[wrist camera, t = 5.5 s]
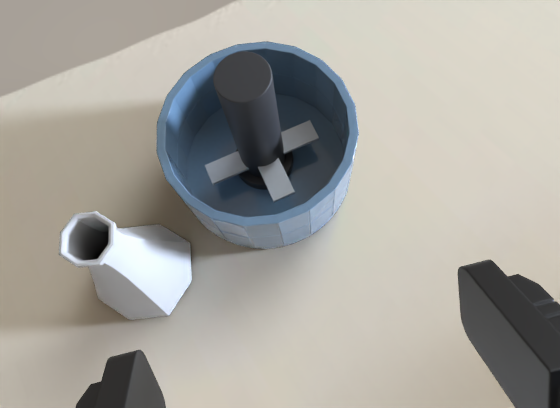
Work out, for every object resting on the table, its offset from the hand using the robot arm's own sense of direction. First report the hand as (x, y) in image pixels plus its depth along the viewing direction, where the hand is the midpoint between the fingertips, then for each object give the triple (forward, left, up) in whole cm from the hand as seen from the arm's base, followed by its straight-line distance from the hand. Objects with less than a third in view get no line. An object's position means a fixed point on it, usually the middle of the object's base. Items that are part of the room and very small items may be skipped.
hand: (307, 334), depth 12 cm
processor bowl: (-3, +14, -23) cm, 27 cm away
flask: (-12, +7, -23) cm, 27 cm away
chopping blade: (-3, +14, -22) cm, 26 cm away
